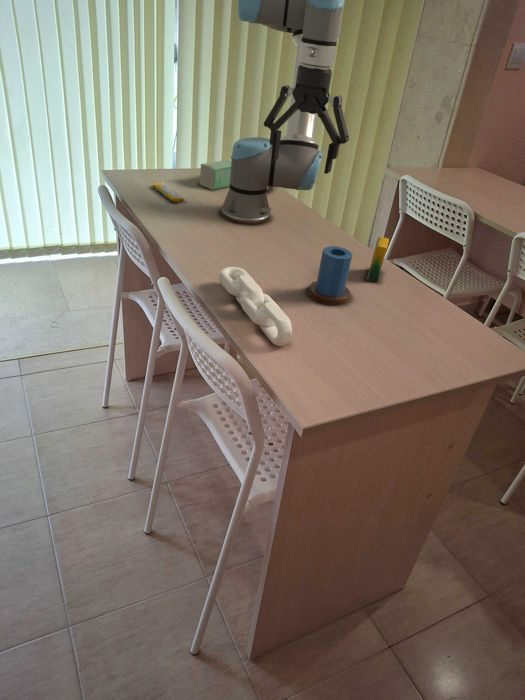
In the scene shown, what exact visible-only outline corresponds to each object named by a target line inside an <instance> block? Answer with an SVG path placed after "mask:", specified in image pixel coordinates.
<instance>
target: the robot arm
mask: <svg viewBox="0 0 525 700" xmlns="http://www.w3.org/2000/svg"><path fill="white" fill-rule="evenodd" d="M344 6H345V0H237V17H238V19H239V21H241V22H247V23H248V24H258V25H262V26H265V27H267V28H269V29H272V30H275V31H278V32H283V33H287V34H288V33H289V34H292V38H291V39H292V40H291V41H292V42H293V44H294V45H295V46H296V51H295V58H294V67H293V74H292V83H291V86H290V85H288V84H286V85H283V86H281V88H280V91H279V92H280V93H279V96H278V98H277V100H276V101H275V103H274V105H273V106H272V108H271V109H270V112H269V113H268V115H267V117H266V119H265V120H264V122H263V126H264V127H265V128H268V129H269V130H270V134H269V138H266V137H259V136H258V137H257V136H253V137H244V138H241V139H238V140H236V141H234V143H233V145H232V150H231V156H230V159H231V161H232V162H231V174H230V186H229V188H228V191H227V193H226V196H225V199H224V201H223V203H222V206H221V215H222V217H223V218H225V219H226V220H228V221H231V222H234V223H237V224H242V225H260V224H264V223H266V222H268V221H269V220H270V215H271V209H272V207H271V206H270V204H269V200H268V196H267V193H269V192H271V191H272V190H273V189H274V188H281V189H287V190H288V189H290V190H295V191H310V190H312V189H313V188H314V186H315V184H316V181H317V178H318V174H319V171H320V167H321V163H322V160H323V159H322V158H323V152H322V151H321V150H319V143H318V141H317V140H316V138H315V137H316V129H317V122H318V118H319V119H320V121H321V123H322V125H323V126H324V129H325V131H326V132H327V134H328V136H329V138H330V141H331V142H330V143H329V144H328V148H327V154H326V160H325V165H324V172H323V173H324V174H326V175H328V174H329V173H330V172H332V167H333V161H334V160H336V159H337V158H338V156H339V152H340V146H341V145H343V144H346V143H348V142H349V141H350V135H349V132H348V128H347V124H346V120H345V115H344V111H343V107H342V105H343V96H342V95H340V94H339V95H330V88H331V82H332V81H331V80H332V76H333V71H332V69H331V68H333V67H334V64H335V57H336V51H337V43H338V38H339V36H340V31H341V22H342V15H343V9H344ZM288 98H290V99H289V107H288V109H287V110H286V111H285V112H284V113H283V114H282V115H280V117H279V118H278V119H277V117H278V115H279V114H280V112H281V110H282V109H283V107H284V105H285V103H286V102H287V100H288ZM328 103H330V106H331V107H332V110H333V114H334V118H335V124H336V127H337V129H336V127H335V124H334V123H333V120H332V119H331V117H330V115H329V110H328V109H327V107H326V106H327V104H328ZM276 119H277V120H276ZM285 123H286V130H285V135H284V136H282V130H279V129H280V128H281V127H282V126H283V125H284V124H285ZM268 187H269V188H268Z"/></svg>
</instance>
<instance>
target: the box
mask: <svg viewBox="0 0 525 700" xmlns="http://www.w3.org/2000/svg"><path fill="white" fill-rule="evenodd" d="M231 162H232V160H230V159H226V160H225V159H224V160H218V161H211V162H205V163H200V171H199V172H200V174H199V185H200V186H202V187H204V188H207V189H209V190H212V191H214V190H218V189H223V188H224V189H225V188H228V187H229V186H230V174H231Z"/></svg>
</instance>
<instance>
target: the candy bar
mask: <svg viewBox="0 0 525 700" xmlns="http://www.w3.org/2000/svg"><path fill="white" fill-rule="evenodd" d="M151 186H152V187H154V189H156V190H157V191H158V192H159V193H161V195H163V196H164V197H165V198H167V199H168V200H170V201H171V202H173V203H179V202H182V201H184V197H183V196H182V197H181V196H180V195H178V194H177V193H175V192H174V191H172V189H170V188H169V187H168V186H167V185H166V184H164V182H162V181H159V182H152V183H151Z"/></svg>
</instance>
